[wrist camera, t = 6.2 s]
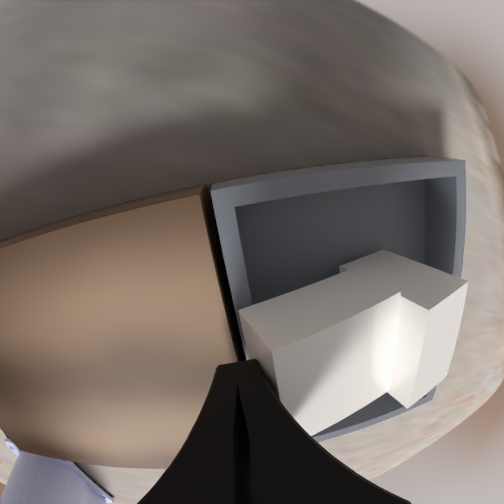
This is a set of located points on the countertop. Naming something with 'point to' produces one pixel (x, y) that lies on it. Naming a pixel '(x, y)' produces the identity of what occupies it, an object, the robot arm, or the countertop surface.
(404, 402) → the tile back
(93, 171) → the countertop surface
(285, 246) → the box
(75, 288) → the walnut board
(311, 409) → the tile front
